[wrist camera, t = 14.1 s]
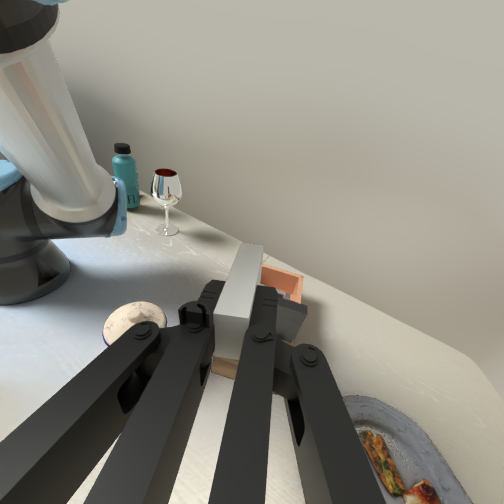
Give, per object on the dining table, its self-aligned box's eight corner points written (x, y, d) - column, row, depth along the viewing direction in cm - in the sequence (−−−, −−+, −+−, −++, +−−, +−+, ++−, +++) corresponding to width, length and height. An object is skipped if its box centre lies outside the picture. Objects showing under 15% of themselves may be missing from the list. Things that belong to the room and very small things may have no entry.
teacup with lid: (144, 323, 47) (138, 281, 40) (178, 349, 44) (179, 309, 38) (82, 372, 38) (61, 330, 31) (120, 408, 36) (106, 371, 29)
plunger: (287, 351, 38) (306, 314, 32) (227, 331, 38) (236, 291, 33) (293, 306, 45) (309, 270, 40) (243, 290, 46) (252, 253, 40)
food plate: (536, 619, 27) (564, 622, 25) (372, 740, 21) (393, 757, 19) (389, 391, 46) (399, 382, 44) (279, 415, 40) (285, 406, 38)
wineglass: (184, 225, 77) (185, 170, 66) (176, 239, 70) (176, 181, 59) (159, 220, 76) (156, 164, 65) (148, 234, 70) (143, 174, 59)
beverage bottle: (128, 214, 76) (119, 149, 64) (114, 206, 78) (103, 141, 66) (145, 208, 80) (140, 146, 68) (131, 200, 82) (124, 139, 70)
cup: (290, 330, 53) (300, 310, 48) (230, 310, 54) (234, 289, 49) (294, 295, 61) (303, 276, 57) (243, 279, 62) (247, 259, 58)
